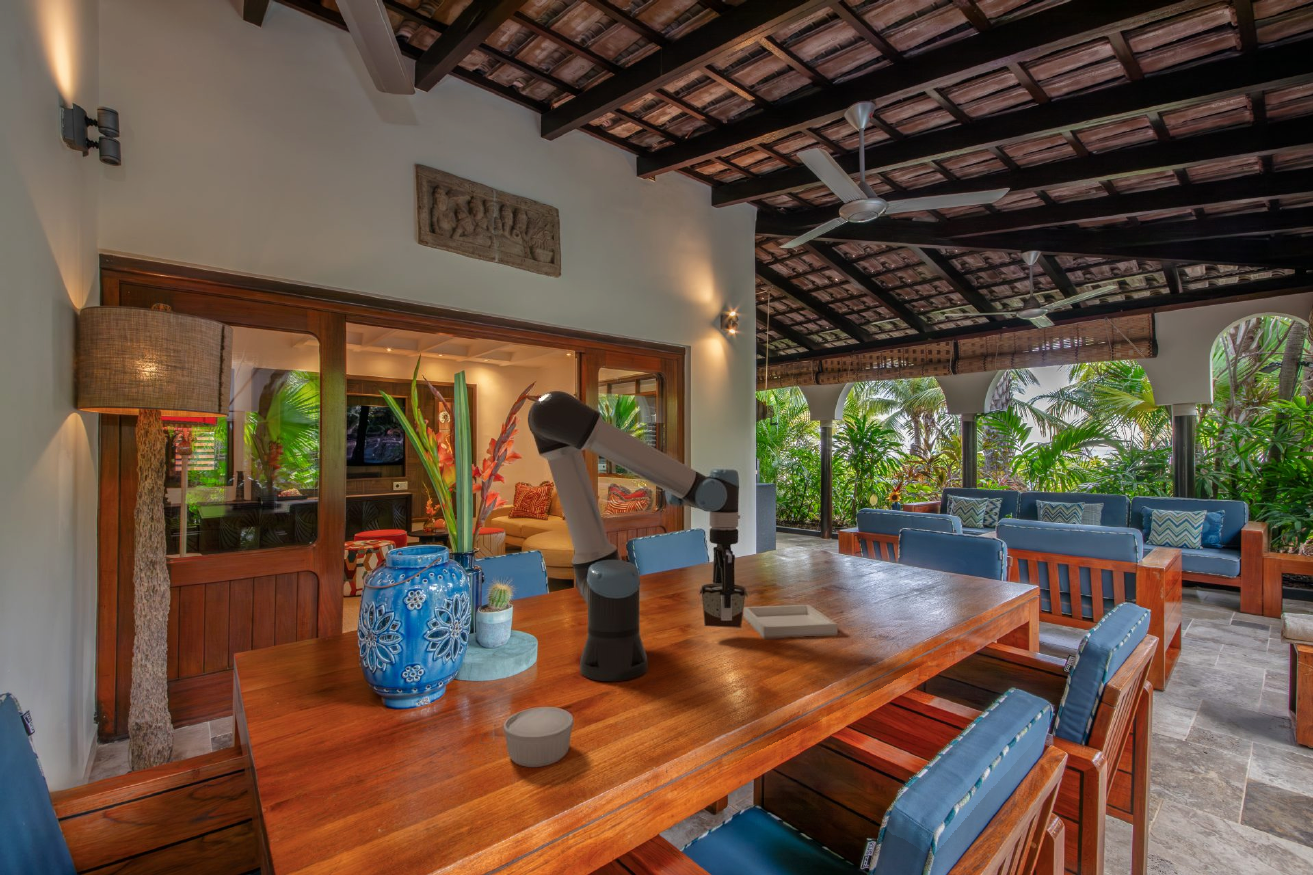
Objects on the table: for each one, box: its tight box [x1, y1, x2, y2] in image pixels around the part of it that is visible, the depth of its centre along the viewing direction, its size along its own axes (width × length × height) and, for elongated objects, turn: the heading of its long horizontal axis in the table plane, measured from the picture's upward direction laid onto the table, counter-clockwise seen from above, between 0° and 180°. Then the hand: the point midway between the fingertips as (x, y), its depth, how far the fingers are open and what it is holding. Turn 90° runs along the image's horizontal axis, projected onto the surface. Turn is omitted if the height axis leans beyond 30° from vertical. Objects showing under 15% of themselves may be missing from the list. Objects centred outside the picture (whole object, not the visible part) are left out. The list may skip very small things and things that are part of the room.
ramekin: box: [503, 706, 574, 768], centre depth 95 cm, size 11×11×5 cm
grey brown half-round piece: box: [699, 582, 748, 629], centre depth 154 cm, size 12×6×10 cm, turn 84°
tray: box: [743, 604, 839, 640], centre depth 164 cm, size 20×20×3 cm
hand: (723, 615), depth 153 cm, fingers closed on grey brown half-round piece, 7 cm apart
